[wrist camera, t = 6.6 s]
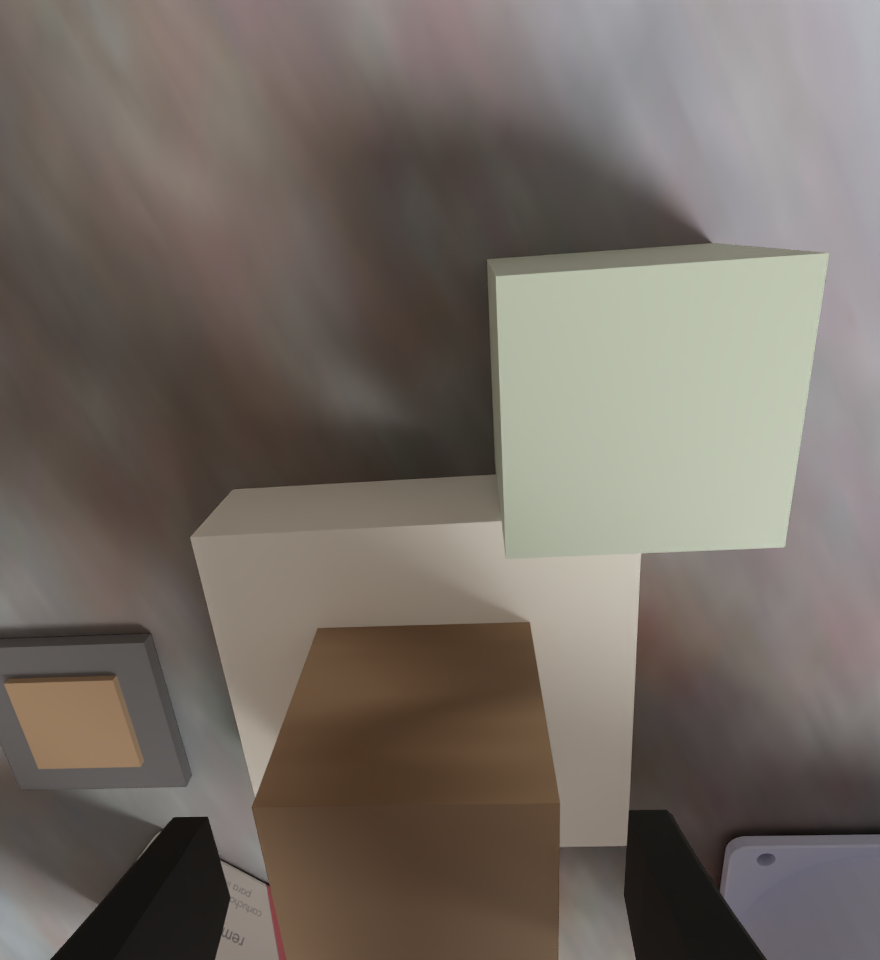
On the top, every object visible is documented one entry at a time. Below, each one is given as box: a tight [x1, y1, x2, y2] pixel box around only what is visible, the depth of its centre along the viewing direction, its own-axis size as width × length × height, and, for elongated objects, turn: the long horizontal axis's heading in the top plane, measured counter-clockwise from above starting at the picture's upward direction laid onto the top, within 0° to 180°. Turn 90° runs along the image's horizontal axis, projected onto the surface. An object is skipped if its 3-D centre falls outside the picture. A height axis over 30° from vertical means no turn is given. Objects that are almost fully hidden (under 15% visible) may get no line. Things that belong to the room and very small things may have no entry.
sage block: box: [487, 243, 829, 559], centre depth 12 cm, size 4×4×4 cm
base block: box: [190, 474, 641, 847], centre depth 16 cm, size 9×9×3 cm
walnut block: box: [252, 622, 560, 960], centre depth 12 cm, size 4×4×4 cm
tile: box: [0, 634, 192, 790], centre depth 18 cm, size 5×5×1 cm
